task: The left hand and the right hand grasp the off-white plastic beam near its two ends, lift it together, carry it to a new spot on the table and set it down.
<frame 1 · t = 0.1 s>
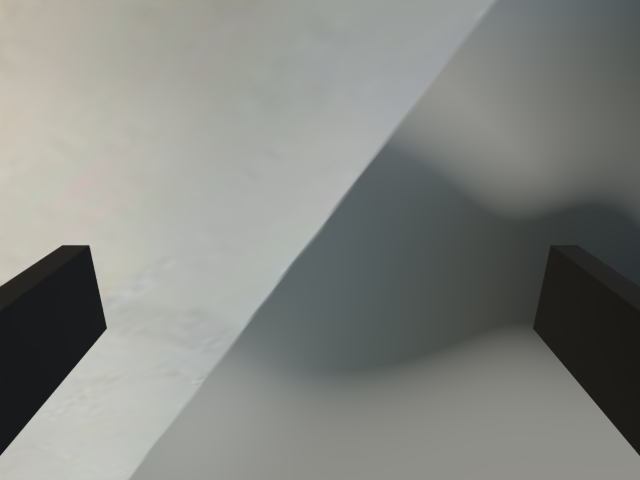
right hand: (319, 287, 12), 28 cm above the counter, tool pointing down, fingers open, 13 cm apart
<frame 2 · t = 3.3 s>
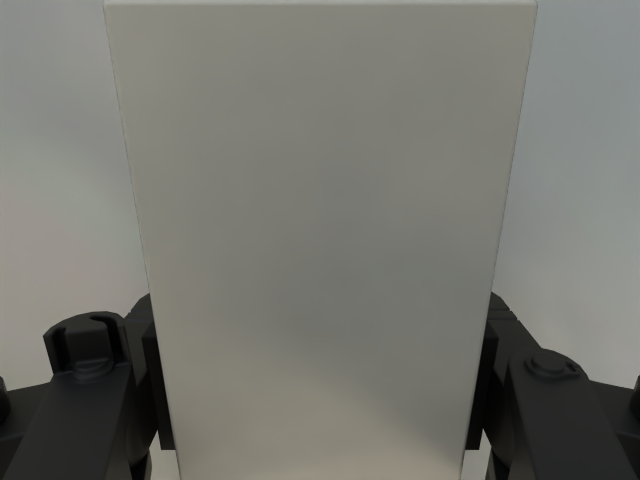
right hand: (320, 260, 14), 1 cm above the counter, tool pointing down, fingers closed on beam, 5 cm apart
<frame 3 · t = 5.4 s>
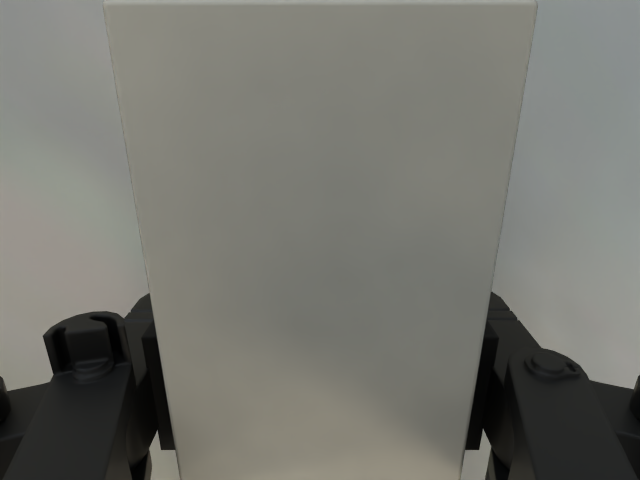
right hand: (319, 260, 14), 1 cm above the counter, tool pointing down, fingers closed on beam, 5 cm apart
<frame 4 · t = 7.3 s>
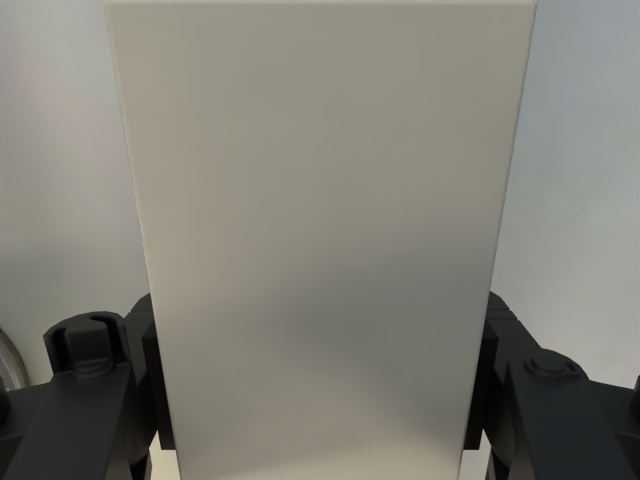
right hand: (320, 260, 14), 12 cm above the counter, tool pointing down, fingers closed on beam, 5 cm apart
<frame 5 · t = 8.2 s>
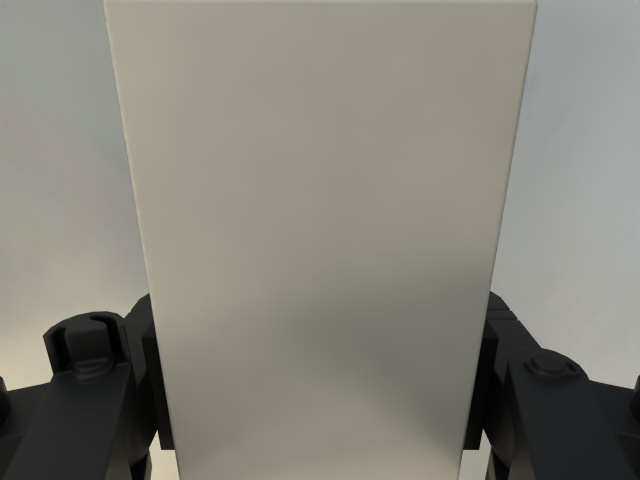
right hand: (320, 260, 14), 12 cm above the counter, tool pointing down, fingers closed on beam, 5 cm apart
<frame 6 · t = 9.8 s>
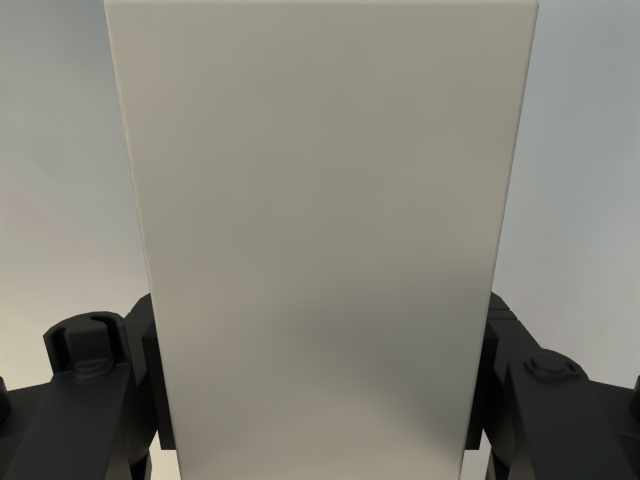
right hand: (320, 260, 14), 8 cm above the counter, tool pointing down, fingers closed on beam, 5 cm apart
when the right hand's fingers open (1 cm above the counter, at t = 11.1 s): beam stays where it is, on the counter.
when the left hand's fingers open (4 cm above the counter, at t = 11.3 s): beam stays where it is, on the counter.
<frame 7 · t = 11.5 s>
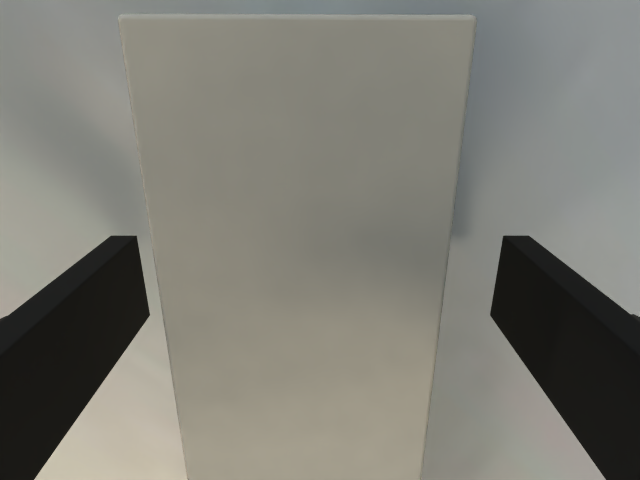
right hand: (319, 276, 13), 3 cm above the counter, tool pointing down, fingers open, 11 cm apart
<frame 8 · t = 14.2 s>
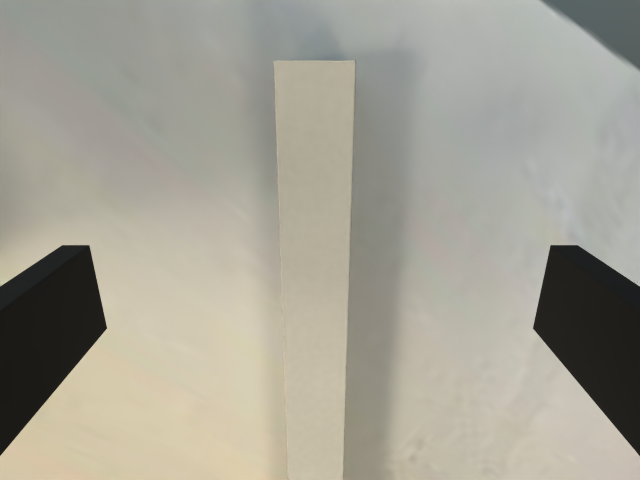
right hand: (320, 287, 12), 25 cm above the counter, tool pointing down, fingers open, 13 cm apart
beam: (316, 431, 47), on the counter
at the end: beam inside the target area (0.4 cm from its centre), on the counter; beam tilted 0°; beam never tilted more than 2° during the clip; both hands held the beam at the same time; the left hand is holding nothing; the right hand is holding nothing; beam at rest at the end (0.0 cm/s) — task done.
